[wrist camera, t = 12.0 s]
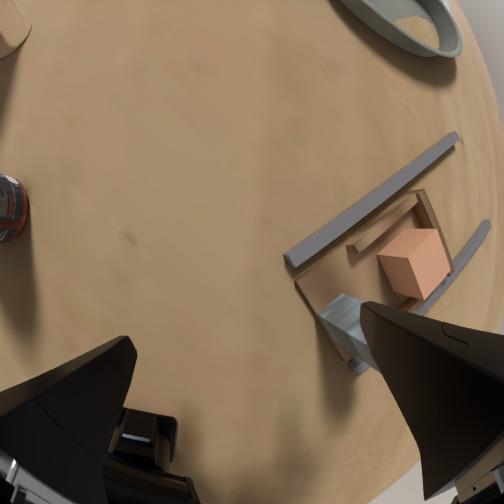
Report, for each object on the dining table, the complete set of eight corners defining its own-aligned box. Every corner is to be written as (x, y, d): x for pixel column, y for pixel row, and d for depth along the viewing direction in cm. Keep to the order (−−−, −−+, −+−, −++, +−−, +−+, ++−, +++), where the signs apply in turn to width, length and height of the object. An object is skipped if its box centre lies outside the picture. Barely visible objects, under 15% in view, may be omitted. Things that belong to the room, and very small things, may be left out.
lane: (353, 370, 26) (358, 375, 25) (283, 254, 23) (288, 255, 22) (485, 227, 30) (491, 227, 28) (449, 132, 27) (455, 130, 26)
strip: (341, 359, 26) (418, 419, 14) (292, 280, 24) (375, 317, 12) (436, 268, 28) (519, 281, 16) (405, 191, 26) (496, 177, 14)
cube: (393, 291, 25) (424, 300, 21) (376, 254, 25) (408, 257, 20) (420, 265, 26) (450, 269, 22) (405, 228, 25) (436, 228, 21)
